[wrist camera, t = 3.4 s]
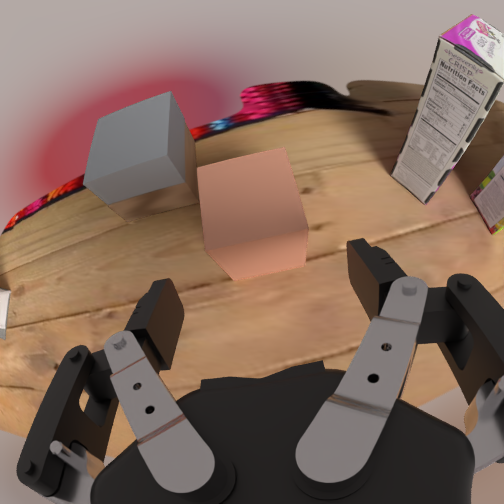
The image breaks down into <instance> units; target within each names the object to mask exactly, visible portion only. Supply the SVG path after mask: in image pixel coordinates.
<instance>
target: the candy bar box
mask: <svg viewBox="0 0 504 504" xmlns="http://www.w3.org/2000/svg"><path fill="white" fill-rule="evenodd" d="M503 84H504V34H503V33H501V32H500V31H499V30H497V29H496V28H495V27H493V26H491V25H490V24H487V23H486V22H485V21H484V20H483V19H481V18H479V17H477V16H474V15H472V14H471V15H470V16H468V17H467V18H466V19H464V20H462V21H461V22H459V23H458V24H456V25H455V26H453V27H452V28H450V29H449V30H447V31H446V32H444V33H442V34H441V35H439V39H438V42H437V46H436V50H435V54H434V58H433V61H432V64H431V68H430V71H429V73H428V76H427V79H426V83H425V86H424V89H423V92H422V95H421V98H420V101H419V104H418V107H417V110H416V113H415V115H414V118H413V121H412V124H411V126H410V128H409V131H408V134H407V136H406V139H405V141H404V144H403V146H402V148H401V151H400V153H399V156H398V158H397V161H396V163H395V165H394V167H393V170H392V172H391V176H392V177H393V178H394V179H395V180H396V181H397V182H398V183H400V184H401V185H402V186H404V187H405V188H406V189H408V190H409V191H410V192H411V193H412V194H413V195H414V196H415V197H417V198H418V199H419V200H420V201H421V202H422V203H423V204H425V205H426V204H427V203H428V202H429V200H430V199H431V198H432V197H433V195H434V194H435V193H436V191H437V190H438V189H439V187H440V186H441V185H442V183H443V182H444V181H445V179H446V178H447V176H448V175H449V174H450V172H451V171H452V169H453V168H454V166H455V165H456V164H457V162H458V161H459V159H460V158H461V156H462V155H463V153H464V152H465V150H466V149H467V147H468V145H469V144H470V142H471V141H472V139H473V138H474V136H475V134H476V133H477V131H478V129H479V128H480V126H481V124H482V123H483V121H484V119H485V117H486V116H487V114H488V112H489V110H490V108H491V107H492V105H493V103H494V101H495V99H496V97H497V95H498V93H499V92H500V90H501V87H502V85H503Z"/></svg>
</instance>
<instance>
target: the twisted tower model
mask: <svg viewBox="0 0 504 504" xmlns="http://www.w3.org/2000/svg"><path fill="white" fill-rule="evenodd" d="M10 294H11V291H10V290H6V289H2V288H0V338H2V339H4V340H5V339H6V326H7V316H8V308H9V301H10Z"/></svg>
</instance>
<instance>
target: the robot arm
mask: <svg viewBox="0 0 504 504" xmlns="http://www.w3.org/2000/svg"><path fill="white" fill-rule="evenodd" d="M347 259H348V273H349V279H350V282H351V285H352V287H353V289H354V291H355V293H356V294H357V296H358V298H359V300H360V302H361V304H362V306H363V308H364V309H365V311H366V313H367V315H368V317H369V319H370V321H371V323H370V325H369V327H368V330H367V332H366V334H365V336H364V338H363V340H362V342H361V344H360V346H359V348H358V350H357V352H356V354H355V356H354V358H353V360H352V362H351V364H350V366H349V368H348V369H347V371H344V370H338V369H325V367H324V363H323V360H322V361H317V362H313V363H308V364H303V365H298V366H293V367H290V368H288V369H285V370H283V371H280V372H278V373H275V374H272V375H270V376H267V377H264V378H242V377H222V378H213V379H203V380H201V386H200V389H198V390H195V391H192V392H190V393H188V394H186V395H185V396H183V397H181V398H180V399H179V400H177V401H176V400H175V398H174V397H173V395H172V394H171V392H170V391H169V389H168V388H167V386H166V385H165V384H164V382H163V380H162V379H161V377H160V376H159V372H160V370H170V369H171V365H172V361H173V357H174V353H175V349H176V346H177V342H178V338H179V335H180V331H181V327H182V324H183V320H184V309H183V305H182V303H181V301H180V298H179V296H178V294H177V291H176V289H175V287H174V284H173V282H172V280H171V279H170V278H167V279H162V280H157V281H154V282H153V284H152V286H151V288H150V290H149V292H148V293H146V294H145V295H144V296H143V297H142V298H141V299H140V300H139V302H138V303H137V305H136V309H134V311H133V314H132V315H131V317H130V319H129V321H128V323H127V325H126V327H125V329H124V331H121V332H118V333H116V334H114V335H112V336H111V337H110V338H109V339H108V340H107V341H106V343H105V345H104V349H103V350H100V351H97V352H94V353H91V352H90V351H89V349H88V348H87V347H86V346H84V345H79V346H76V347H74V348H72V349H71V350H70V351H68V352H67V354H66V355H65V356H64V358H63V360H62V362H61V364H60V366H59V368H58V370H57V372H56V374H55V376H54V378H53V380H52V382H51V384H50V386H49V388H48V390H47V392H46V394H45V396H44V399H43V401H42V403H41V405H40V407H39V410H38V412H37V414H36V417H35V419H34V421H33V424H32V426H31V429H30V431H29V434H28V436H27V439H26V442H25V444H24V447H23V449H22V452H21V455H20V458H19V461H18V464H17V476H18V479H19V480H20V481H21V482H22V483H23V484H25V485H26V486H28V487H29V488H31V489H32V490H34V491H36V492H37V493H38V494H39V495H41V496H42V497H44V498H46V499H48V500H49V501H51V502H53V503H55V504H471V488H472V480H473V475H474V474H475V473H476V472H478V471H480V470H482V469H484V468H486V467H487V466H489V465H491V464H492V463H494V462H497V463H504V309H503V308H502V307H501V306H500V304H499V303H498V302H497V301H496V300H495V299H494V298H493V296H492V295H491V294H490V293H489V292H488V291H487V290H486V289H485V288H484V286H483V285H482V284H481V283H480V282H479V281H478V280H477V279H476V278H474V277H473V276H471V275H468V274H454V275H452V276H451V277H449V279H448V281H447V287H436V288H428V286H427V284H426V283H425V282H424V281H423V280H421V279H419V278H416V277H410V276H407V275H406V274H405V272H404V271H403V270H402V269H401V268H400V267H399V265H398V264H397V263H396V262H395V261H394V260H393V259H392V258H391V257H390V255H389V254H388V253H387V252H386V251H385V250H383V249H381V248H379V247H377V246H375V247H371V246H370V245H369V244H368V243H367V242H366V240H365V239H364V238H361V239H356V240H352V241H347ZM428 343H437V344H438V346H439V348H440V350H441V351H442V353H443V355H444V357H445V359H446V361H447V362H448V364H449V366H450V368H451V370H452V372H453V374H454V376H455V378H456V380H457V382H458V384H459V386H460V388H461V390H462V392H463V394H464V396H465V399H466V401H467V403H468V405H469V407H468V409H467V410H466V413H465V416H464V423H465V428H466V434H464V433H463V432H462V431H460V430H459V429H457V428H456V427H454V426H452V425H450V424H448V423H446V422H444V421H442V420H440V419H438V418H436V417H434V416H432V415H430V414H428V413H426V412H424V411H422V410H420V409H419V408H417V407H415V406H413V405H411V404H409V403H407V402H405V401H403V400H402V399H401V398H402V395H403V392H404V389H405V386H406V383H407V380H408V376H409V373H410V370H411V367H412V364H413V360H414V357H415V354H416V350H417V346H418V344H428ZM83 389H84V390H85V391H86V392H87V394H88V395H89V399H88V402H87V404H86V407H85V410H84V412H83V411H82V410H81V408H80V405H79V399H80V396H81V393H82V391H83ZM119 401H120V404H121V406H122V408H123V411H124V413H125V415H126V417H127V419H128V422H129V424H130V426H131V428H132V430H133V432H134V434H135V436H136V438H137V439H136V440H135V441H134V442H133V443H132V444H131V445H129V446H128V447H127V448H126V449H125V450H124V451H123V452H122V453H121V454H120V455H118V456H117V457H116V458H115V459H114V460H113V461H112V462H111V463H110V464H108V465H107V466H106V467H105V466H104V464H103V463H104V458H105V454H106V450H107V445H108V441H109V437H110V433H111V429H112V426H113V422H114V418H115V414H116V411H117V407H118V404H119Z"/></svg>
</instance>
